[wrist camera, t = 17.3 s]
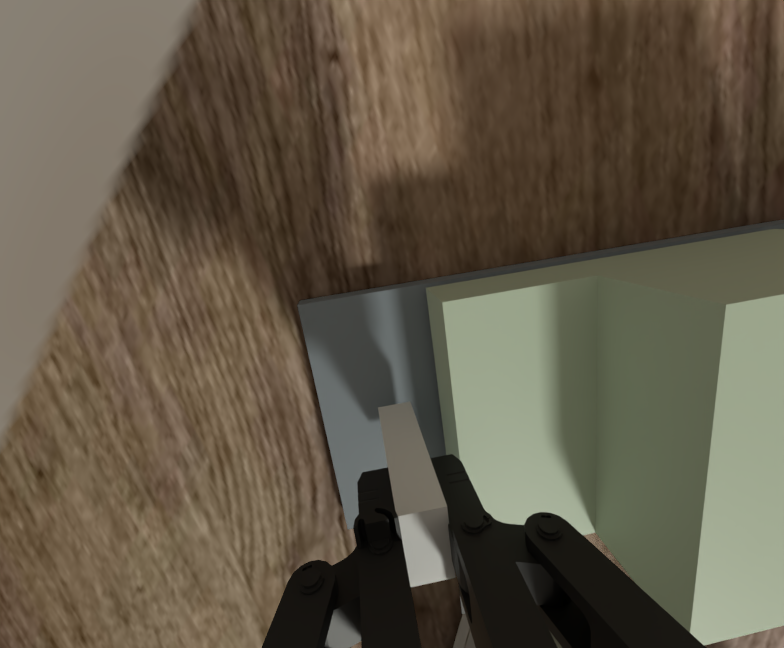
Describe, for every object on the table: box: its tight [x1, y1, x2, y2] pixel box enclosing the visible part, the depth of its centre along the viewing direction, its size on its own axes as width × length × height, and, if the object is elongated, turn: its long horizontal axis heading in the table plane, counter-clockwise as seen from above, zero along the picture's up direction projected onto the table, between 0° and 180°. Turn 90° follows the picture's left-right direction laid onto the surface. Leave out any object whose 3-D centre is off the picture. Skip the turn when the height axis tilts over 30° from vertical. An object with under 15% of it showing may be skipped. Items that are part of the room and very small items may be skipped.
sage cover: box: [426, 229, 784, 645], centre depth 15 cm, size 17×12×8 cm
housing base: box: [297, 219, 784, 529], centre depth 16 cm, size 26×12×9 cm, turn 98°
